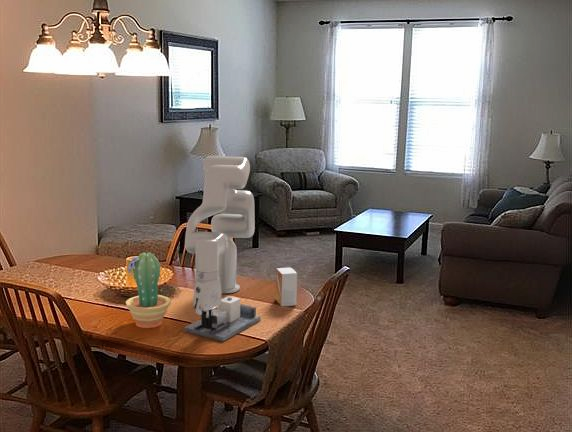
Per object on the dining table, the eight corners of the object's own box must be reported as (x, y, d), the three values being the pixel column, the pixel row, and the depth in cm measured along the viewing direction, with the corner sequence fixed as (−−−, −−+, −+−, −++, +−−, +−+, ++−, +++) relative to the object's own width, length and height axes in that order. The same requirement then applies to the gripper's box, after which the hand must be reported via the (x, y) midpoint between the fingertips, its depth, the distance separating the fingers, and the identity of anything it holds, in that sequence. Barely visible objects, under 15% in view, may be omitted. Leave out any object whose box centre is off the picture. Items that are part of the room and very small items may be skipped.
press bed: (184, 331, 212) (184, 318, 211) (223, 311, 232) (223, 300, 231) (223, 341, 204) (223, 328, 204) (260, 320, 224) (260, 308, 223)
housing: (218, 319, 220) (218, 298, 218) (228, 314, 225) (228, 294, 223) (230, 322, 217) (230, 301, 216) (240, 317, 222) (240, 297, 221)
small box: (275, 299, 247) (275, 268, 244) (290, 298, 249) (291, 267, 246) (280, 306, 239) (281, 273, 237) (296, 305, 241) (297, 272, 238)
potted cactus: (142, 312, 228) (141, 246, 223) (179, 319, 223) (179, 251, 218) (116, 326, 214) (115, 256, 209) (155, 334, 209) (154, 262, 204)
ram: (205, 325, 213) (205, 313, 212) (218, 318, 220) (219, 306, 219) (217, 328, 210) (217, 316, 209) (230, 321, 217) (230, 309, 216)
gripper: (202, 282, 197) (202, 337, 201) (229, 271, 210) (228, 323, 214) (183, 278, 201) (183, 332, 205) (211, 267, 214) (210, 318, 217)
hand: (206, 327), depth 209 cm, fingers closed
